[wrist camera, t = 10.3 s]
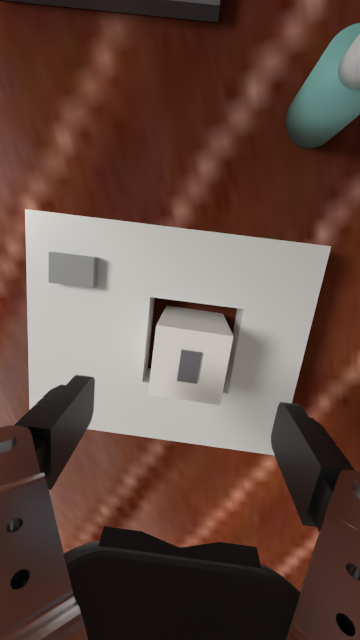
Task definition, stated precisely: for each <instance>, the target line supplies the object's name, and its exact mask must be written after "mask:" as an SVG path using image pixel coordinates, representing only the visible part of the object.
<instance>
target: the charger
mask: <svg viewBox="0 0 360 640" xmlns="http://www.w3.org/2000/svg"><path fill="white" fill-rule="evenodd" d="M233 337H234V336H233V334H232V332H231V330H230V328H229V325H228V323H227V321H226V319H225V317H224V315H223V314H222V313H215V312H208V311H202V310H195V309H188V308H181V307H174V306H168V305H167V306H166V308H165V309H164V311H163V313H162V315H161V317H160V319H159V321H158V323H157V324H156V331H155V339H154V347H153V356H152V364H151V372H150V381H149V389H148V395H155V396H161V397H168V398H174V399H181V400H188V401H194V402H201V403H207V404H214V405H220V403H221V398H222V393H223V388H224V383H225V378H226V373H227V367H228V362H229V357H230V352H231V347H232V342H233Z"/></svg>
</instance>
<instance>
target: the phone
mask: <svg viewBox="0 0 360 640" xmlns="http://www.w3.org/2000/svg"><path fill="white" fill-rule="evenodd" d="M4 1H13V2H23V3H33V4H43V5H52V6H62V7H72V8H81V9H91V10H101V11H110V12H120V13H130V14H139V15H149V16H159V17H168V18H178V19H188V20H198V21H207V22H217V23H218V18H219V10H220V2H221V0H4Z"/></svg>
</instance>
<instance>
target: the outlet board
mask: <svg viewBox="0 0 360 640" xmlns="http://www.w3.org/2000/svg"><path fill="white" fill-rule="evenodd" d="M25 229H26V274H27V318H28V363H29V407H30V409H31V408H32V407H33V406H34V405H36V403H37V402H38V401H39V400H40V399H42V397H43V396H44V395H45V394H46V393H47V392H48V391H49V390H51V389H53V388H55V387H57V386H59V385H67V384H68V382H69V381H70V380H71V379H72V378H73V377H74V376H75V375H82V376H89V377H94V379H95V390H94V410H93V416H92V419H91V422H90V424H89V426H88V428H87V429H91V430H98V431H106V432H113V433H120V434H127V435H134V436H141V437H148V438H155V439H162V440H169V441H177V442H184V443H191V444H198V445H205V446H212V447H219V448H226V449H233V450H241V451H248V452H255V453H262V454H269V455H275V454H274V452H273V449H272V446H271V433H272V429H273V425H274V420H275V416H276V412H277V408H278V405H279V403H280V402H285V403H292V400H293V396H294V393H295V389H296V385H297V381H298V377H299V373H300V369H301V365H302V361H303V357H304V353H305V349H306V345H307V341H308V337H309V333H310V329H311V325H312V321H313V317H314V313H315V309H316V305H317V301H318V297H319V293H320V289H321V285H322V281H323V277H324V273H325V269H326V265H327V261H328V257H329V253H330V249H331V246H324V245H316V244H307V243H299V242H291V241H283V240H275V239H266V238H258V237H250V236H242V235H233V234H225V233H217V232H209V231H201V230H192V229H184V228H176V227H168V226H160V225H151V224H143V223H135V222H127V221H118V220H110V219H102V218H94V217H86V216H77V215H69V214H61V213H53V212H45V211H36V210H28V209H25ZM155 298H161V299H169V300H176V301H184V302H192V303H200V304H208V305H215V306H223V307H231V308H237V312H236V318H235V323H234V329H233V336H234V337H233V342H232V347H231V352H230V357H229V362H228V367H227V373H226V378H225V383H224V388H223V393H222V398H221V403H220V405H214V404H207V403H201V402H194V401H188V400H181V399H174V398H168V397H161V396H155V395H148V389H149V381H150V372H151V369H150V368H148V363H149V353H150V342H151V332H152V322H153V312H154V301H155Z"/></svg>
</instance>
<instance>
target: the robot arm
mask: <svg viewBox="0 0 360 640" xmlns="http://www.w3.org/2000/svg"><path fill="white" fill-rule="evenodd" d="M94 390H95V379H94V377H89V376H82V375H75V376H74V377H73V378H72V379H71V380H70V381H69V382H68V384H67V385H59V386H57V387H55V388H53V389H51V390H49V391H48V392H47V393H46V394H45V395H44V396H43V397H42V399H40V400H39V401H38V402H37V403H36V405H34V406H33V407H32V408H31V409H30V410H29V411H28V412H27V413H26V414H25V415H24V416H23V417H22V418H21V419H20V420H19V421H18V422H17V423H16V424H15V425H12V426H5V427H1V428H0V640H360V472H359V471H355V469H354V468H353V467H352V465H351V464H350V463H349V461H348V460H347V458H346V457H345V456H344V454H343V453H342V452H341V450H340V449H339V448H338V446H336V444H335V442H334V441H333V440H332V438H330V435H329V434H328V433H327V431H326V430H325V429H324V427H323V426H322V425H320V424H319V423H318V422H316V421H315V420H314V419H313V418H309V417H308V416H307V414H306V413H305V411H304V410H303V408H302V407H301V406H300V405H299V404H293V403H285V402H280V403H279V405H278V408H277V412H276V416H275V420H274V425H273V429H272V433H271V446H272V449H273V452H274V454H275V457H276V459H277V462H278V464H279V467H280V469H281V472H282V474H283V477H284V479H285V482H286V484H287V487H288V489H289V492H290V494H291V497H292V499H293V502H294V504H295V507H296V509H297V511H298V514H299V516H300V519H301V521H302V524H303V525H306V526H314V527H317V528H318V530H319V532H320V533H319V536H318V539H317V542H316V545H315V548H314V551H313V554H312V557H311V560H310V563H309V566H308V569H307V572H306V575H305V579H304V582H303V585H302V588H301V591H300V592H299V591H298V590H297V589H296V588H295V587H294V586H293V585H292V584H291V583H290V582H288V581H287V580H286V579H285V578H284V577H282V576H281V575H280V574H278V573H277V572H275V571H274V570H272V569H270V568H268V567H267V566H265V565H263V564H260V561H259V556H258V552H257V547H251V546H244V545H237V544H229V543H222V542H216V543H210V544H203V545H196V546H190V547H182V548H181V547H176V546H174V545H172V544H169V543H167V542H165V541H162V540H160V539H158V538H155V537H153V536H151V535H148V534H146V533H144V532H142V531H134V530H127V529H120V528H112V527H105V526H104V529H103V532H102V535H101V538H100V541H95V542H91V543H87V544H84V545H81V546H79V547H76V548H74V549H72V550H70V551H68V552H66V553H65V554H64V553H63V549H62V545H61V541H60V536H59V532H58V528H57V524H56V520H55V516H54V512H53V507H52V503H51V499H50V495H49V491H48V489H49V490H51V489H52V487H53V486H54V484H55V482H56V481H57V479H58V477H59V475H60V474H61V472H62V470H63V469H64V467H65V465H66V463H67V462H68V460H69V458H70V457H71V455H72V453H73V452H74V450H75V448H76V446H77V445H78V443H79V441H80V440H81V438H82V436H83V435H84V433H85V431H86V429H87V428H88V426H89V424H90V422H91V419H92V416H93V410H94Z"/></svg>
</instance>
